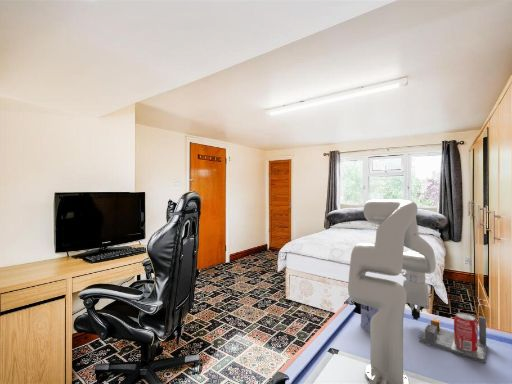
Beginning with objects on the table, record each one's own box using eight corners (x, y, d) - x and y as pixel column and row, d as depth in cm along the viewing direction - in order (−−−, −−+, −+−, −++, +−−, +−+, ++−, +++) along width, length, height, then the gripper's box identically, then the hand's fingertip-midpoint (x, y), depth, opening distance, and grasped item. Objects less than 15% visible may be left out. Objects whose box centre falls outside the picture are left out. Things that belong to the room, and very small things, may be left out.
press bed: (484, 364, 92) (484, 332, 92) (418, 342, 105) (418, 314, 105) (486, 345, 103) (486, 317, 104) (426, 327, 117) (426, 303, 117)
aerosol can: (356, 324, 120) (356, 280, 120) (369, 321, 123) (368, 278, 123) (370, 332, 113) (370, 286, 113) (383, 328, 116) (383, 283, 116)
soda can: (469, 343, 102) (468, 312, 102) (483, 354, 95) (482, 321, 95) (449, 342, 102) (449, 311, 103) (462, 353, 95) (461, 320, 96)
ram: (434, 342, 103) (434, 333, 103) (425, 339, 105) (425, 330, 105) (440, 328, 113) (440, 320, 113) (431, 325, 115) (431, 318, 115)
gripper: (395, 276, 121) (395, 316, 121) (433, 284, 111) (434, 327, 111) (399, 273, 127) (399, 310, 127) (436, 279, 117) (437, 321, 116)
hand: (415, 318), depth 119 cm, fingers closed
